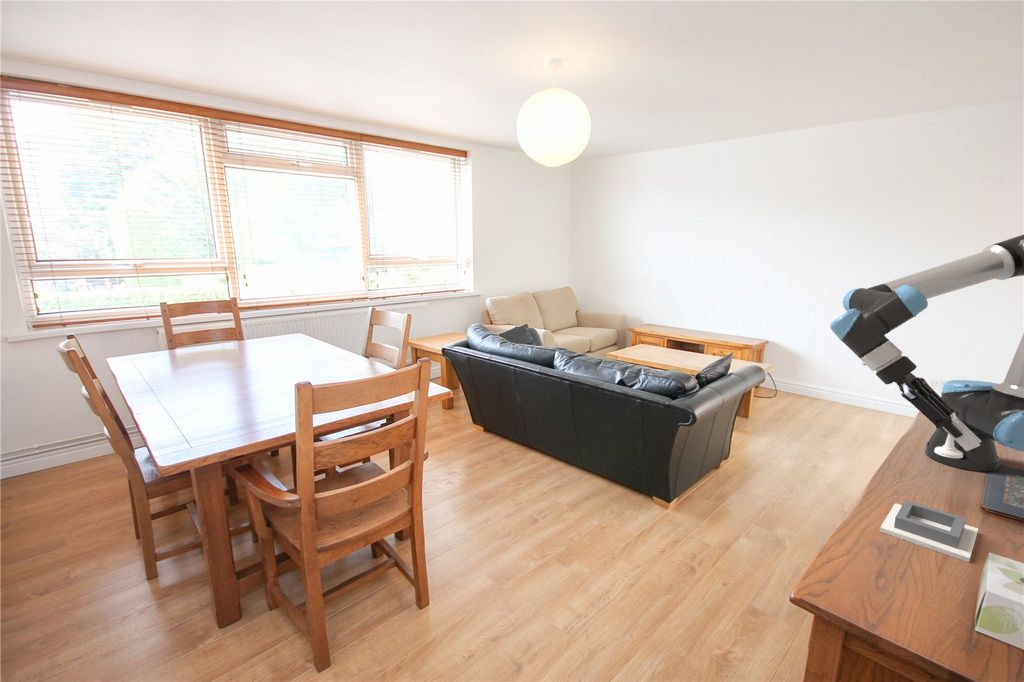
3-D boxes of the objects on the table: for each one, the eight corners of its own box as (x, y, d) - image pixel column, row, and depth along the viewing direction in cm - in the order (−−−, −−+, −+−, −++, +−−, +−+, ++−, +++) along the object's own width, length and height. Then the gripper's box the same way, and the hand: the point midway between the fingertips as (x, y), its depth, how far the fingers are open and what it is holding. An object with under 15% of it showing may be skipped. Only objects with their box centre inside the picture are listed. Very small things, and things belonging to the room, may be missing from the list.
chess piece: (955, 450, 108) (961, 410, 106) (968, 459, 104) (974, 417, 102) (929, 448, 110) (935, 409, 108) (940, 457, 105) (946, 416, 104)
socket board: (894, 507, 109) (896, 493, 108) (977, 532, 98) (980, 518, 98) (879, 531, 100) (881, 516, 99) (969, 562, 90) (971, 546, 89)
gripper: (881, 366, 120) (960, 443, 111) (866, 378, 110) (951, 464, 101) (910, 349, 115) (996, 428, 106) (896, 360, 105) (989, 449, 96)
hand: (973, 446), depth 103 cm, fingers closed on chess piece, 2 cm apart
